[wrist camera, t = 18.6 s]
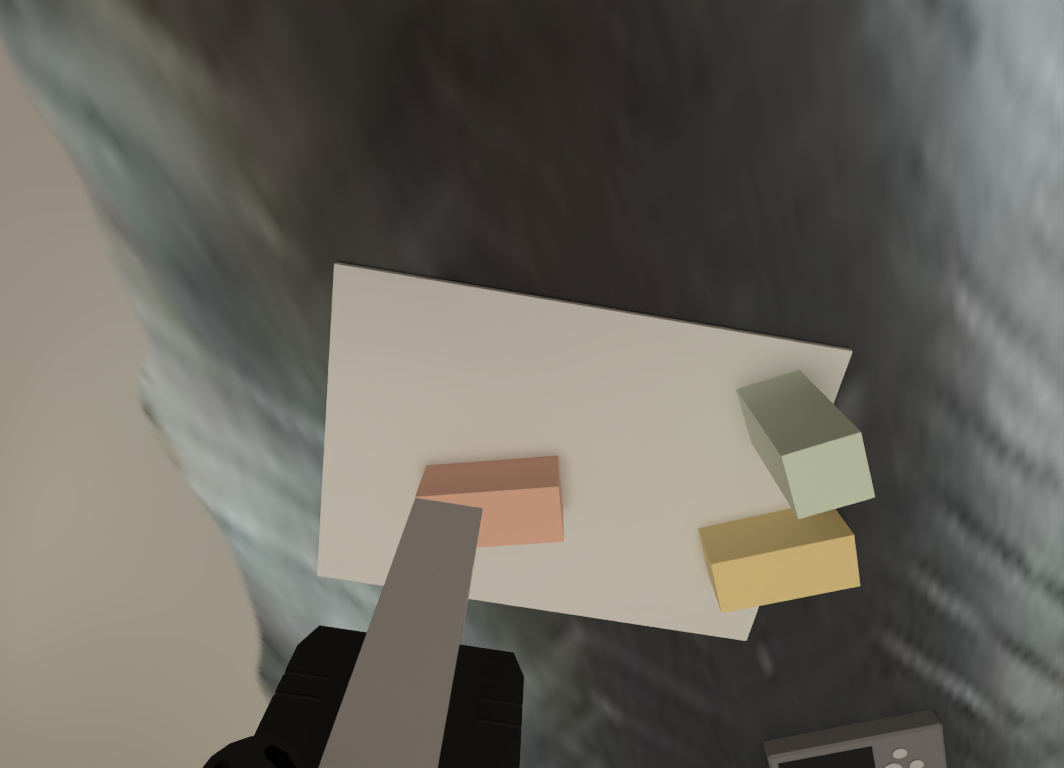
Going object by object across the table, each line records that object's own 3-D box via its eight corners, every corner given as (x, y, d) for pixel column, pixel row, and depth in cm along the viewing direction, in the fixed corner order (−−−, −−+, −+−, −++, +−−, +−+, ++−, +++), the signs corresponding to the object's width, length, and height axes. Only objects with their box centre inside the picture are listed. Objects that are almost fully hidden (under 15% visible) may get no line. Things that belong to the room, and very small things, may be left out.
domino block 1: (425, 553, 48) (564, 543, 47) (414, 496, 46) (558, 486, 46) (435, 518, 52) (563, 509, 51) (426, 465, 50) (558, 455, 50)
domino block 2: (751, 445, 49) (798, 522, 40) (736, 389, 47) (781, 456, 38) (813, 426, 48) (875, 499, 39) (799, 369, 47) (860, 431, 37)
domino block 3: (722, 615, 49) (860, 588, 48) (710, 564, 48) (854, 534, 46) (708, 576, 53) (835, 550, 52) (698, 528, 52) (829, 500, 50)
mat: (319, 571, 55) (317, 575, 54) (336, 262, 45) (334, 263, 45) (744, 635, 56) (746, 640, 56) (849, 348, 47) (852, 351, 46)
